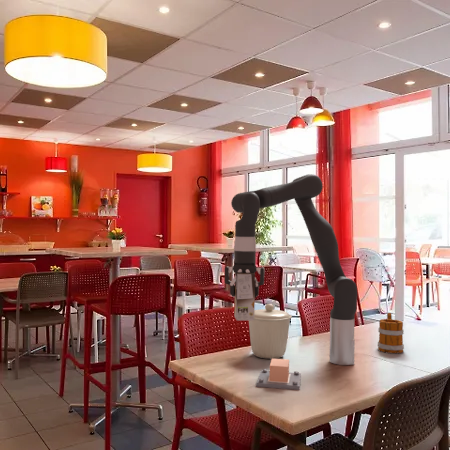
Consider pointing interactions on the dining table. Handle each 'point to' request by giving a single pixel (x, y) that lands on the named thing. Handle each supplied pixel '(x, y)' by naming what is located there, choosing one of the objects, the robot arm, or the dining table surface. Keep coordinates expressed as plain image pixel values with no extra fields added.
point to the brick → (279, 370)
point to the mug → (390, 335)
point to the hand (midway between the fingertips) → (244, 296)
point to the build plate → (291, 384)
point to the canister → (269, 332)
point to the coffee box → (244, 296)
